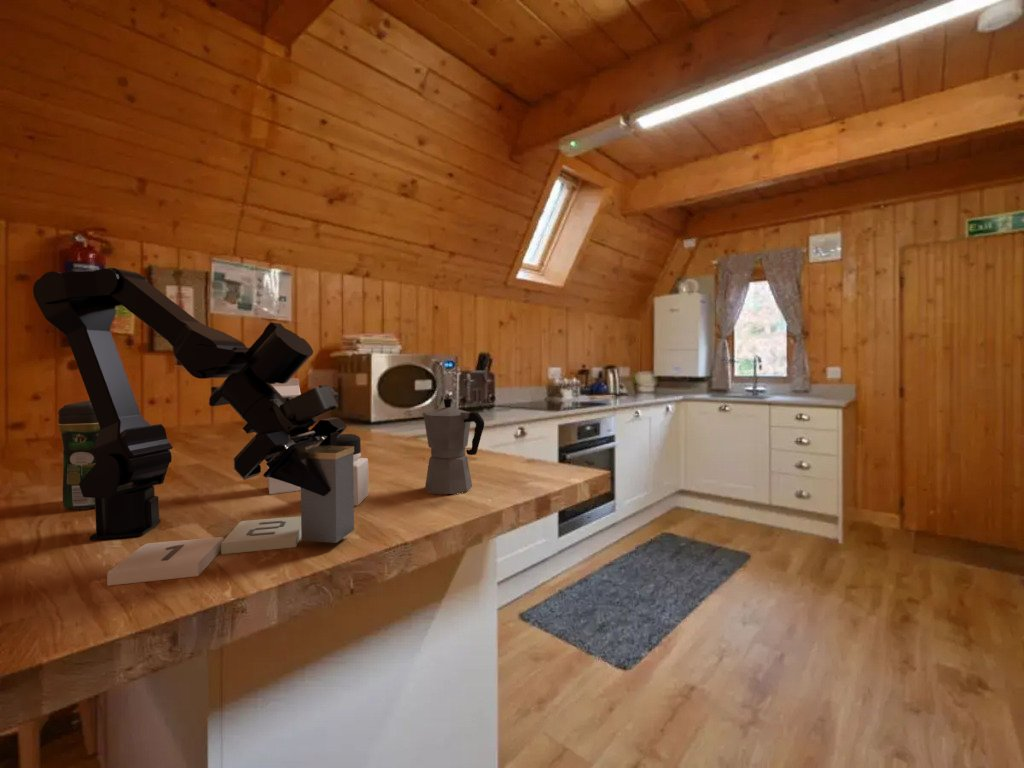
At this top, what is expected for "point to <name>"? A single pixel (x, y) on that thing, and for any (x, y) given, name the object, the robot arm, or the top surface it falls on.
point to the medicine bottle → (357, 467)
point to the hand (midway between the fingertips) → (337, 488)
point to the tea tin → (329, 496)
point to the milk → (273, 484)
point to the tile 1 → (165, 561)
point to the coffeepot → (450, 448)
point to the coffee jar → (77, 450)
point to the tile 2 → (263, 535)
